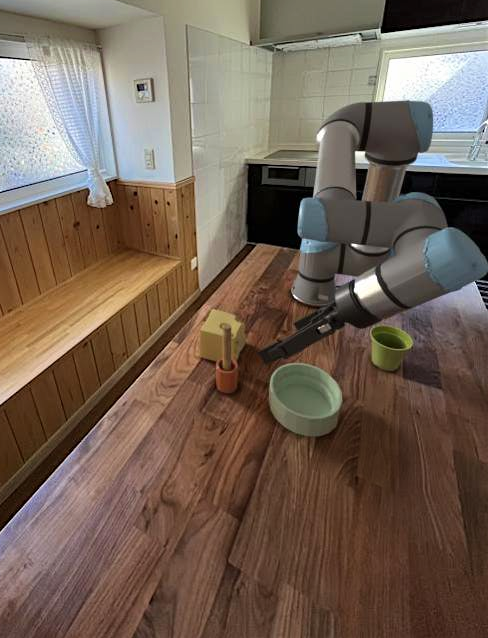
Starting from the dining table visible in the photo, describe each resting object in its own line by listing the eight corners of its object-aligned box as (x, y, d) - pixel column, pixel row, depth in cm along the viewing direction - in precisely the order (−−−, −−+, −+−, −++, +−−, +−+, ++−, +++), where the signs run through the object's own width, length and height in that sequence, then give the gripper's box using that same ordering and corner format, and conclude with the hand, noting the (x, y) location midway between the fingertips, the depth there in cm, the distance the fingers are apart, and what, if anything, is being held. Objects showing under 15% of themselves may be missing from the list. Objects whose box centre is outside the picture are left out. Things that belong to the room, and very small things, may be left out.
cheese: (246, 344, 97) (246, 315, 93) (234, 370, 88) (235, 340, 84) (212, 335, 101) (211, 307, 97) (198, 359, 92) (197, 330, 88)
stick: (227, 380, 85) (227, 322, 77) (232, 385, 83) (233, 326, 76) (221, 383, 84) (220, 325, 76) (226, 389, 82) (226, 330, 75)
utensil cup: (227, 374, 87) (227, 353, 84) (241, 388, 83) (242, 366, 80) (212, 384, 84) (211, 363, 82) (225, 398, 80) (225, 376, 78)
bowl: (297, 371, 87) (299, 353, 84) (352, 413, 75) (356, 393, 73) (255, 401, 79) (256, 382, 77) (309, 452, 68) (312, 432, 65)
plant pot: (411, 379, 83) (419, 351, 80) (370, 374, 85) (376, 347, 81) (397, 352, 91) (404, 326, 88) (360, 348, 93) (365, 323, 90)
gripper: (355, 355, 44) (256, 391, 59) (407, 292, 61) (319, 332, 76) (320, 307, 46) (233, 353, 61) (379, 258, 63) (299, 304, 78)
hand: (280, 342), depth 68 cm, fingers open, 13 cm apart
